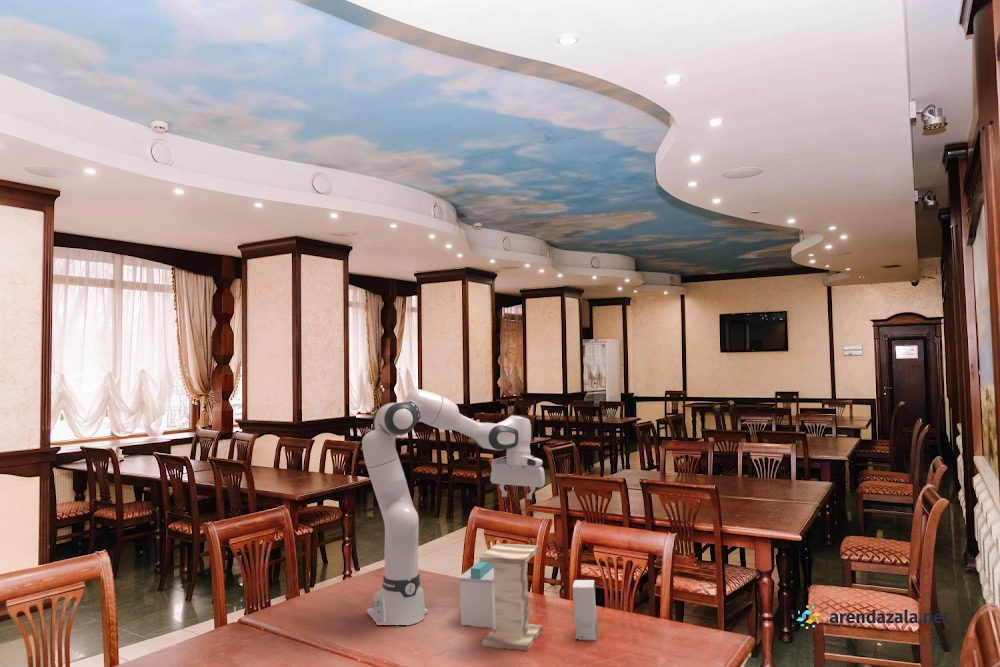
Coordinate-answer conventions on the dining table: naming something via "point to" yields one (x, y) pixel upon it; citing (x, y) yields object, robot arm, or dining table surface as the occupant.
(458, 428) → the robot arm
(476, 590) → the grey storage box
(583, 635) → the skincare box
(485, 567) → the teal bar
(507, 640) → the birch pedestal
